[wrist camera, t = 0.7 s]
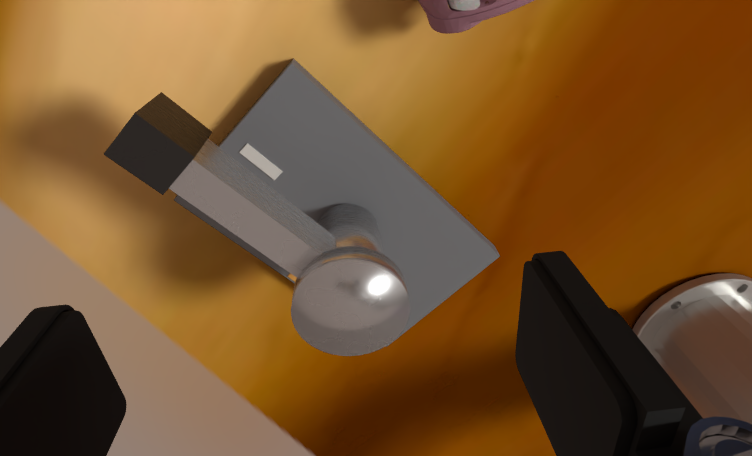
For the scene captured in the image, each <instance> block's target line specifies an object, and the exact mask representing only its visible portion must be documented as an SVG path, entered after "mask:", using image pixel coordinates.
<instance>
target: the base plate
mask: <svg viewBox="0 0 752 456" xmlns="http://www.w3.org/2000/svg"><path fill="white" fill-rule="evenodd" d="M219 147H220V148H221V149H222V150H224V151H225V152H226V153H228V154H229V155H230V156H232V157H233V158H234V159H235V160H237V161H238V162H239V163H241V164H242V165H243V166H244V167H246V168H247V169H248V170H250V171H251V172H252V173H253V174H255V175H256V176H257V177H259V178H260V179H261V180H263V181H264V182H265V183H266V184H268V185H269V186H270V187H272V188H273V189H274V190H275V191H277V192H278V193H279V194H281V195H282V196H283V197H284V198H286V199H287V200H288V201H290V202H291V203H292V204H294V205H295V206H296V207H297V208H299V209H300V210H301V211H303V212H304V213H305V214H306V215H308V216H309V217H310V218H312V219H313V220H314V221H315V222H317V223H318V220H319V219H320V217H321V216H322V215H323V214H324V213H325V212H326V211H327V210H329V209H330V208H332V207H334V206H337V205H341V204H354V205H358V206H361V207H363V208H365V209H367V210H368V211H369V212H371V213H372V214H373V216H374V217H375V219H376V220H377V223H378V227H379V233H380V239H381V245H382V251H383V254H384V255H385V256H387V257H388V258H390V259H391V260H392V261H393V262H394V263H395V264H396V265H397V266H398V268H399V269H400V271H401V272H402V274H403V276H404V279H405V283H406V288H407V292H408V297H409V302H410V314H409V318H408V321H407V324H406V326H405V328H404V329H403V331H402V332H401V333H400V334H399V336H401V335H402V334H403V333H404V332H406V331H407V330H408V329H409V328H411V327H412V326H413V325H414V324H416V323H417V322H418V321H419V320H421V319H422V318H423V317H424V316H426V315H427V314H428V313H430V312H431V311H432V310H433V309H435V308H436V307H437V306H438V305H440V304H441V303H442V302H443V301H445V300H446V299H447V298H448V297H450V296H451V295H452V294H453V293H455V292H456V291H457V290H458V289H460V288H461V287H462V286H463V285H465V284H466V283H467V282H468V281H470V280H471V279H472V278H473V277H475V276H476V275H477V274H478V273H480V272H481V271H482V270H483V269H485V268H486V267H487V266H488V265H490V264H491V263H492V262H493V261H495V260H496V259H497V258H498V257H500V255H499V253H498V252H497V250H496V248H495V246H494V245H493V244H492V243H491V242H490V241H489V240H488V239H487V238H486V237H484V236H483V235H482V234H481V233H480V232H479V231H478V230H477V229H476V228H475V227H474V226H473V225H472V224H471V223H469V222H468V221H467V220H466V219H465V218H464V217H463V216H462V215H461V214H460V213H459V212H458V211H457V210H456V209H454V208H453V207H452V206H451V205H450V204H449V203H448V202H447V201H446V200H445V199H444V198H443V197H442V196H441V195H439V194H438V193H437V192H436V191H435V190H434V189H433V188H432V187H431V186H430V185H429V184H428V183H427V182H426V181H424V180H423V179H422V178H421V177H420V176H419V175H418V174H417V173H416V172H415V171H414V170H413V169H412V168H410V167H409V166H408V165H407V164H406V163H405V162H404V161H403V160H402V159H401V158H400V157H399V156H398V155H397V154H395V153H394V152H393V151H392V150H391V149H390V148H389V147H388V146H387V145H386V144H385V143H384V142H383V141H382V140H380V139H379V138H378V137H377V136H376V135H375V134H374V133H373V132H372V131H371V130H370V129H369V128H368V127H367V126H365V125H364V124H363V123H362V122H361V121H360V120H359V119H358V118H357V117H356V116H355V115H354V114H353V113H352V112H350V111H349V110H348V109H347V108H346V107H345V106H344V105H343V104H342V103H341V102H340V101H339V100H338V99H336V98H335V97H334V96H333V95H332V94H331V93H330V92H329V91H328V90H327V89H326V88H325V87H324V86H323V85H321V84H320V83H319V82H318V81H317V80H316V79H315V78H314V77H313V76H312V75H311V74H310V73H309V72H308V71H306V70H305V69H304V68H303V67H302V66H301V65H300V64H299V63H298V62H297V61H296V60H295V59H294V58H293V59H292V61H291V62H290V63H289V64H288V65H287V66H286V68H285V69H284V70H283V71H282V72H281V73H280V75H279V76H278V77H277V78H276V79H275V80H274V82H273V83H272V84H271V85H270V86H269V87H268V89H267V90H266V91H265V92H264V93H263V94H262V96H261V97H260V98H259V99H258V100H257V101H256V103H255V104H254V105H253V106H252V107H251V108H250V110H249V111H248V112H247V113H246V114H245V115H244V117H243V118H242V119H241V120H240V121H239V122H238V124H237V125H236V126H235V127H234V128H233V129H232V131H231V132H230V133H229V134H228V135H227V136H226V138H225V139H224V140H223V141H222V142H221V143H220V145H219ZM174 201H176V202H177V203H179V204H180V205H181V206H183V207H184V208H186V209H187V210H189V211H190V212H192V213H193V214H195V215H196V216H197V217H199V218H200V219H202V220H203V221H205V222H206V223H208V224H209V225H211V226H212V227H213V228H215V229H216V230H218V231H219V232H221V233H222V234H224V235H225V236H226V237H228V238H229V239H231V240H232V241H234V242H235V243H237V244H238V245H240V246H241V247H242V248H244V249H245V250H247V251H248V252H250V253H251V254H253V255H254V256H255V257H257V258H258V259H260V260H261V261H263V262H264V263H266V264H267V265H269V266H270V267H271V268H273V269H274V270H276V271H277V272H279V273H280V274H282V275H283V276H285V277H286V278H287V279H289V280H290V281H292V282H293V283H295V281H296V278H297V277H295V276H294V275H292V274H291V273H289V272H288V271H287V270H285V269H284V268H282V267H281V266H279V265H278V264H276V263H275V262H274V261H272V260H271V259H269V258H268V257H266V256H265V255H264V254H262V253H261V252H259V251H258V250H256V249H255V248H254V247H252V246H251V245H249V244H248V243H246V242H245V241H244V240H242V239H241V238H239V237H238V236H236V235H235V234H233V233H232V232H231V231H229V230H228V229H226V228H225V227H223V226H222V225H221V224H219V223H218V222H216V221H215V220H213V219H212V218H211V217H209V216H208V215H206V214H205V213H203V212H202V211H200V210H199V209H198V208H196V207H195V206H193V205H192V204H190V203H189V202H188V201H186V200H185V199H183V198H182V197H180V196H179V195H178V194H177V196H176V197H175V199H174ZM399 336H398V337H399ZM398 337H397V338H398ZM397 338H396V339H397ZM396 339H394V340H396ZM394 340H393V341H394ZM393 341H392V342H393ZM392 342H391V343H392ZM391 343H389V344H391ZM389 344H388V345H389ZM388 345H386V347H387V346H388Z"/></svg>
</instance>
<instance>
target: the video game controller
mask: <svg viewBox="0 0 752 456" xmlns="http://www.w3.org/2000/svg"><path fill="white" fill-rule="evenodd" d="M418 1H419V3H420V4H421V6H422V8H423V9H424V11H425V12H426V14H427V18H428V21H429V24H430V26H431V27H432V28H433V29H434V30H435V31H437V32H440V33H459V32H462V31H465V30H468V29H470V28H472V27H474V26H475V25H477V24H478V23H480V22H481V21H482V20H486V19H489V18H492V17H495V16H498V15H501V14H504V13H507V12H509V11H512V10H514V9H516V8H519V7H521V6H523V5H525V4H528V3H530V2H532V1H534V0H418Z"/></svg>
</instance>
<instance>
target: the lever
mask: <svg viewBox="0 0 752 456" xmlns="http://www.w3.org/2000/svg"><path fill="white" fill-rule="evenodd" d="M211 133H212V131H210V130H209V129H208V128H206V127H205V126H204V125H203V124H201V123H200V122H199V121H198V120H196V119H195V118H194V117H192V116H191V115H190V114H189V113H187V112H186V111H185V110H183V109H182V108H181V107H180V106H178V105H177V104H176V103H175V102H173V101H172V100H171V99H169V98H168V97H167V96H166V95H164V94H163V93H162V92H161V93H160V94H159V95H157V96H156V97H155V98H153V99H152V100H151V101H150V102H148V103H147V104H146V105H144V106H143V107H142V108H141V109H139V110H138V111H137V112H135V113H134V115H133V116H132V117H131V119H130V120H129V121H128V123H127V124H126V125H125V127H124V128H123V129H122V131H121V132H120V133H119V135H118V136H117V137H116V139H115V140H114V141H113V143H112V144H111V145H110V147H109V148H108V149H107V150H106V152H105V153H104V155H105V156H107V157H108V158H110V159H111V160H113V161H114V162H116V163H117V164H118V165H120V166H121V167H123V168H124V169H126V170H127V171H129V172H130V173H132V174H133V175H134V176H136V177H137V178H139V179H140V180H142V181H143V182H145V183H146V184H148V185H149V186H150V187H152V188H153V189H155V190H156V191H158V192H159V193H161V194H162V195H163V194H164V193H165V192H166V191H167V190H168V188H169V189H170V190H172V191H173V192H175V193H176V194H178V195H179V196H180V197H182V198H183V199H185V200H186V201H188V202H189V203H190V204H192V205H193V206H195V207H196V208H198V209H199V210H200V211H202V212H203V213H205V214H206V215H208V216H209V217H211V218H212V219H213V220H215V221H216V222H218V223H219V224H221V225H222V226H223V227H225V228H226V229H228V230H229V231H231V232H232V233H233V234H235V235H236V236H238V237H239V238H241V239H242V240H244V241H245V242H246V243H248V244H249V245H251V246H252V247H254V248H255V249H256V250H258V251H259V252H261V253H262V254H264V255H265V256H266V257H268V258H269V259H271V260H272V261H274V262H275V263H276V264H278V265H279V266H281V267H282V268H284V269H285V270H287V271H288V272H289V273H291V274H292V275H294V276H295V277H297V278H296V281H295V284H294V291H293V299H292V307H291V316H292V321H293V324H294V326H295V328H296V330H297V332H298V333H299V335H300V336H301V337H302V338H303V339H304V340H305V341H306V342H307V343H309V344H310V345H311V346H313V347H315V348H317V349H319V350H321V351H323V352H326V353H330V354H334V355H341V356H356V355H363V354H368V353H371V352H374V351H376V350H379V349H381V348H383V347H385V346H386V345H388V344H389V343H391V342H392V341H393V340H394V339H396V338H397V337H398V336H399V334H400V333H401V332H402V331H403V329H404V328H405V326H406V324H407V321H408V318H409V314H410V302H409V297H408V292H407V288H406V283H405V279H404V276H403V274H402V272H401V271H400V269H399V268H398V266H397V265H396V264H395V263H394V262H393V261H392V260H391V259H390V258H388V257H387V256H385V255H384V254H383V251H382V245H381V239H380V233H379V227H378V223H377V220H376V219H375V217H374V216H373V214H372V213H371V212H369V211H368V210H367V209H365V208H363V207H361V206H358V205H354V204H341V205H337V206H334V207H332V208H330V209H329V210H327V211H326V212H325V213H324V214H323V215H322V216H321V217H320V219H319V220H318V223H317V222H315V221H314V220H313V219H312V218H310V217H309V216H308V215H306V214H305V213H304V212H303V211H301V210H300V209H299V208H297V207H296V206H295V205H294V204H292V203H291V202H290V201H288V200H287V199H286V198H284V197H283V196H282V195H281V194H279V193H278V192H277V191H275V190H274V189H273V188H272V187H270V186H269V185H268V184H266V183H265V182H264V181H263V180H261V179H260V178H259V177H257V176H256V175H255V174H253V173H252V172H251V171H250V170H248V169H247V168H246V167H244V166H243V165H242V164H241V163H239V162H238V161H237V160H235V159H234V158H233V157H232V156H230V155H229V154H228V153H226V152H225V151H224V150H222V149H221V148H220V147H219V146H217V145H216V144H215V143H213V142H212V141H211V140H210V139H208V138H209V136H210V135H211Z"/></svg>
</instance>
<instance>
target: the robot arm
mask: <svg viewBox="0 0 752 456" xmlns="http://www.w3.org/2000/svg"><path fill="white" fill-rule="evenodd" d="M515 356H516V363H517V367H518V370H519V372H520V375H521V377H522V379H523V381H524V384H525V386H526V388H527V390H528V393H529V395H530V397H531V399H532V402H533V404H534V406H535V408H536V411H537V413H538V415H539V417H540V420H541V422H542V424H543V426H544V428H545V431H546V433H547V435H548V437H549V440H550V442H551V444H552V446H553V449H554V451H555V453H556V455H557V456H752V278H749V277H747V276H744V275H739V274H732V273H725V274H713V275H708V276H703V277H700V278H696V279H693V280H690V281H688V282H685V283H683V284H681V285H679V286H677V287H675V288H673V289H672V290H670V291H668V292H667V293H665V294H664V295H662V296H661V297H660V298H658V299H657V300H656V301H655V302H653V303H652V304H651V305H650V306H649V307H648V308H647V309H646V310H645V311H644V313H643V314H642V315H641V316H640V318H639V319H638V321H637V322H636V324H635V325H634V327H633V330H632V329H631V328H630V326H629V325H628V324H627V323H626V321H625V320H624V319H623V318H622V316H621V315H620V314H619V313H618V312H617V311H616V310H613V309H611V308H608V307H607V306H606V305H605V303H604V302H603V301H602V300H601V298H600V297H599V296H598V294H597V293H596V292H595V291H594V289H593V288H592V287H591V285H590V284H589V283H588V282H587V280H586V279H585V278H584V277H583V275H582V274H581V273H580V271H579V270H578V269H577V268H576V266H575V265H574V264H573V262H572V261H571V260H570V259H569V257H568V256H567V255H566V254H565V253H564V252H563V251H555V252H546V253H536V254H534V255H533V257H532V261H527V262H525V264H524V271H523V281H522V291H521V301H520V312H519V322H518V332H517V343H516V355H515ZM125 412H126V400H125V397H124V395H123V393H122V391H121V389H120V387H119V385H118V383H117V381H116V379H115V377H114V375H113V373H112V371H111V369H110V367H109V365H108V363H107V361H106V360H105V357H104V355H103V354H102V351H101V350H100V348H99V346H98V344H97V342H96V340H95V338H94V336H93V334H92V332H91V330H90V328H89V326H88V324H87V322H86V320H85V318H84V316H83V315H82V313H81V312H79V311H75V310H74V309H73V308H72V307H71V306H69V305H58V306H49V307H40V308H36V309H34V310H33V311H32V312H30V313H29V315H28V316H27V317H26V318H25V319H24V321H23V322H22V323H21V324H20V325H19V326H18V327H17V329H16V330H15V331H14V332H13V333H12V335H11V336H10V337H9V338H8V339H7V341H5V343H4V344H3V345H2V346H1V347H0V456H106V455H107V453H108V451H109V449H110V446H111V444H112V442H113V440H114V438H115V436H116V433H117V431H118V429H119V427H120V425H121V422H122V420H123V418H124V416H125Z"/></svg>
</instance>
